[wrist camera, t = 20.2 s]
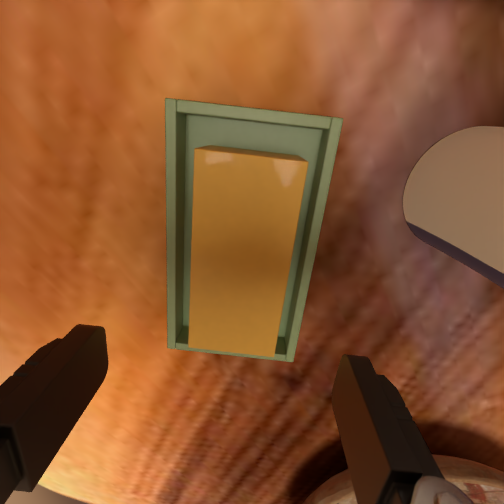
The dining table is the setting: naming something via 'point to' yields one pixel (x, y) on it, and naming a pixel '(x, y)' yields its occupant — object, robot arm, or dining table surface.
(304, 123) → the tray
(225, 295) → the block
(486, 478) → the ceramic bowl
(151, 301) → the dining table surface
